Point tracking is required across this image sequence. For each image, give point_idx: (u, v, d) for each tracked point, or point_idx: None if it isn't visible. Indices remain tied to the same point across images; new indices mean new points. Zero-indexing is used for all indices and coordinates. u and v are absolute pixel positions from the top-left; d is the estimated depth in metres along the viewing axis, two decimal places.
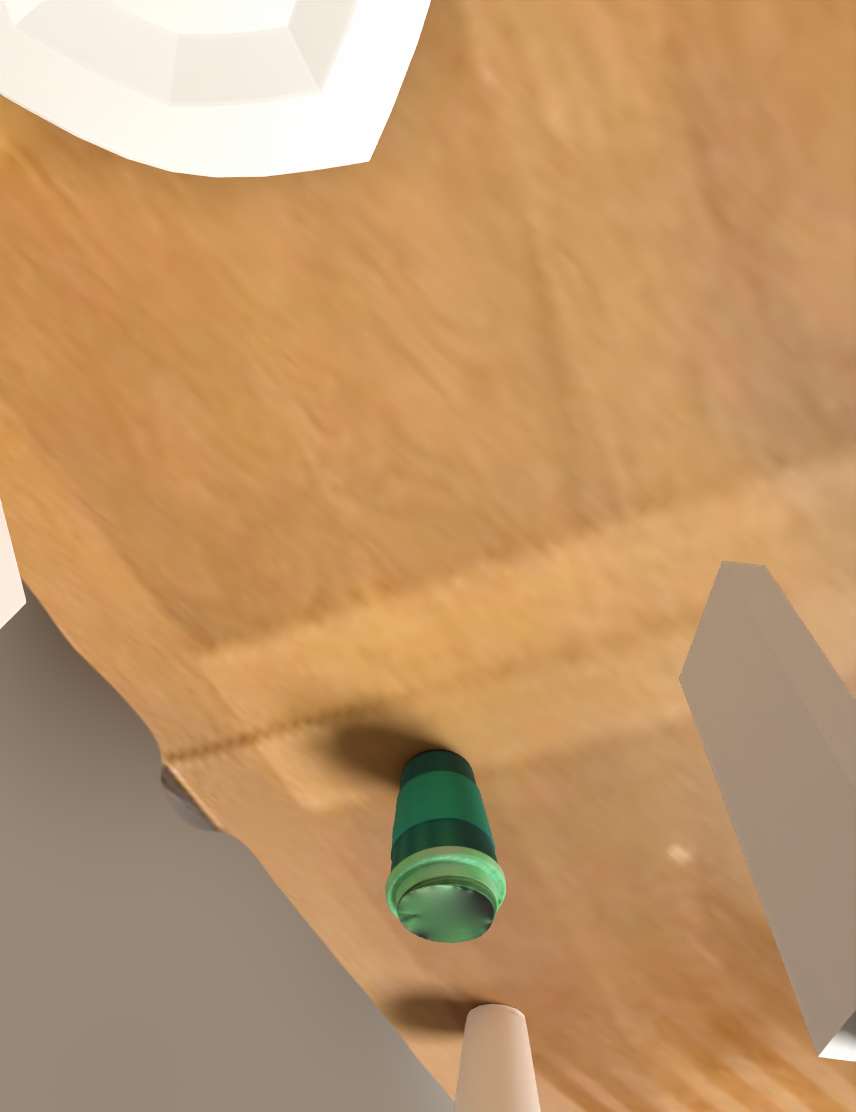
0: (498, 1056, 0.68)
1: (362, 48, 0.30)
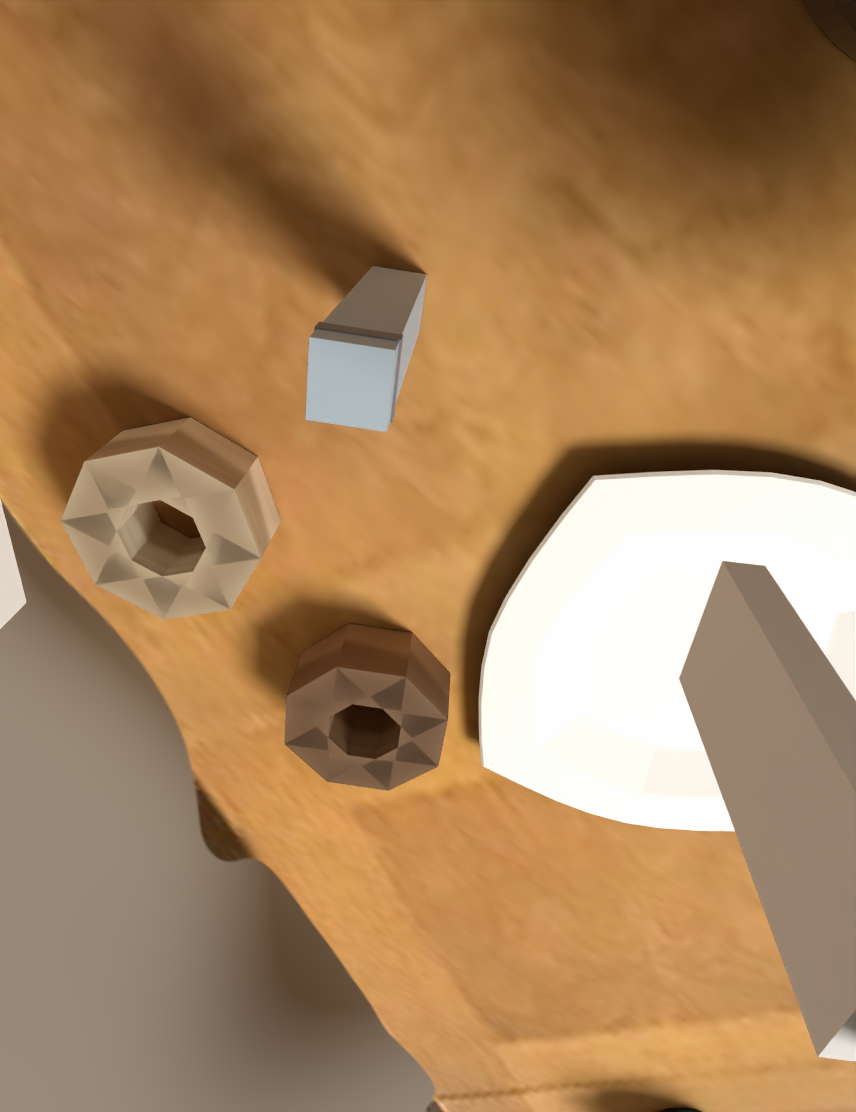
0: None
1: None
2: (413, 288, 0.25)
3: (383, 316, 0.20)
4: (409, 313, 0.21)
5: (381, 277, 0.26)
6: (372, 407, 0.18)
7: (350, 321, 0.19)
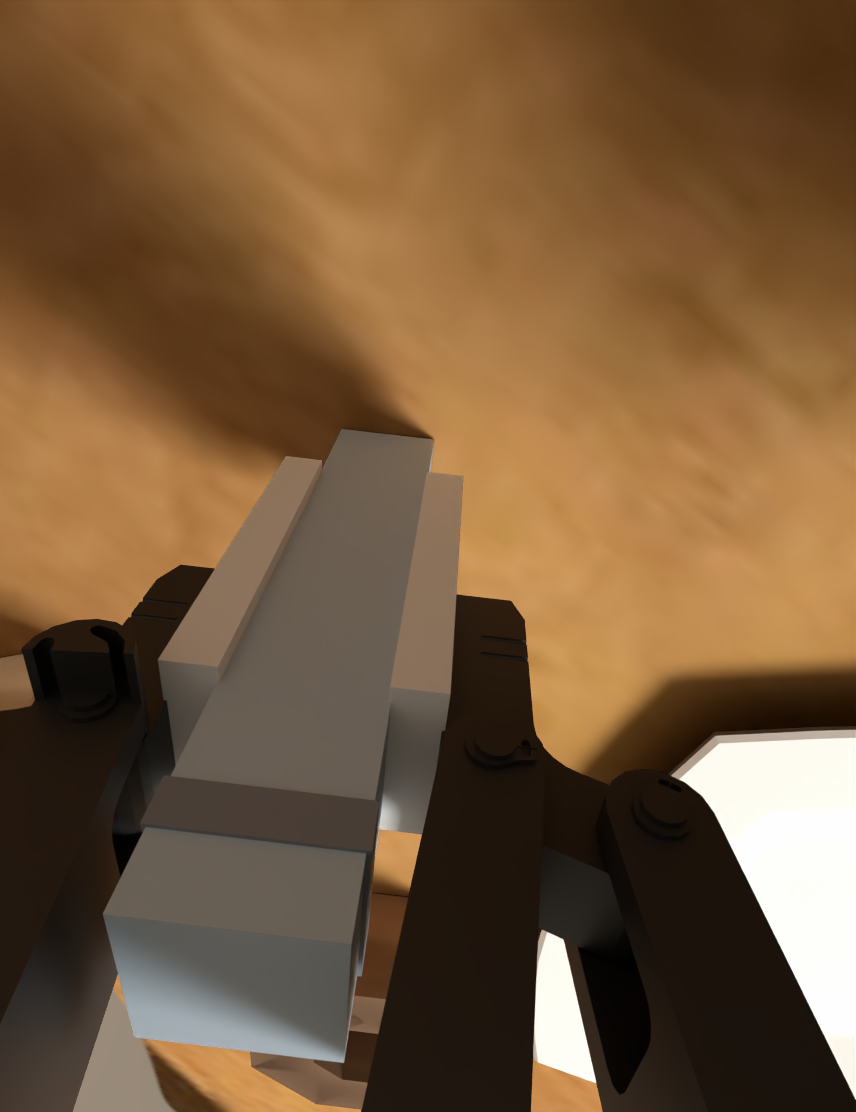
0: None
1: None
2: (410, 503, 0.13)
3: (339, 671, 0.09)
4: None
5: (352, 471, 0.14)
6: (301, 1028, 0.07)
7: (252, 734, 0.08)
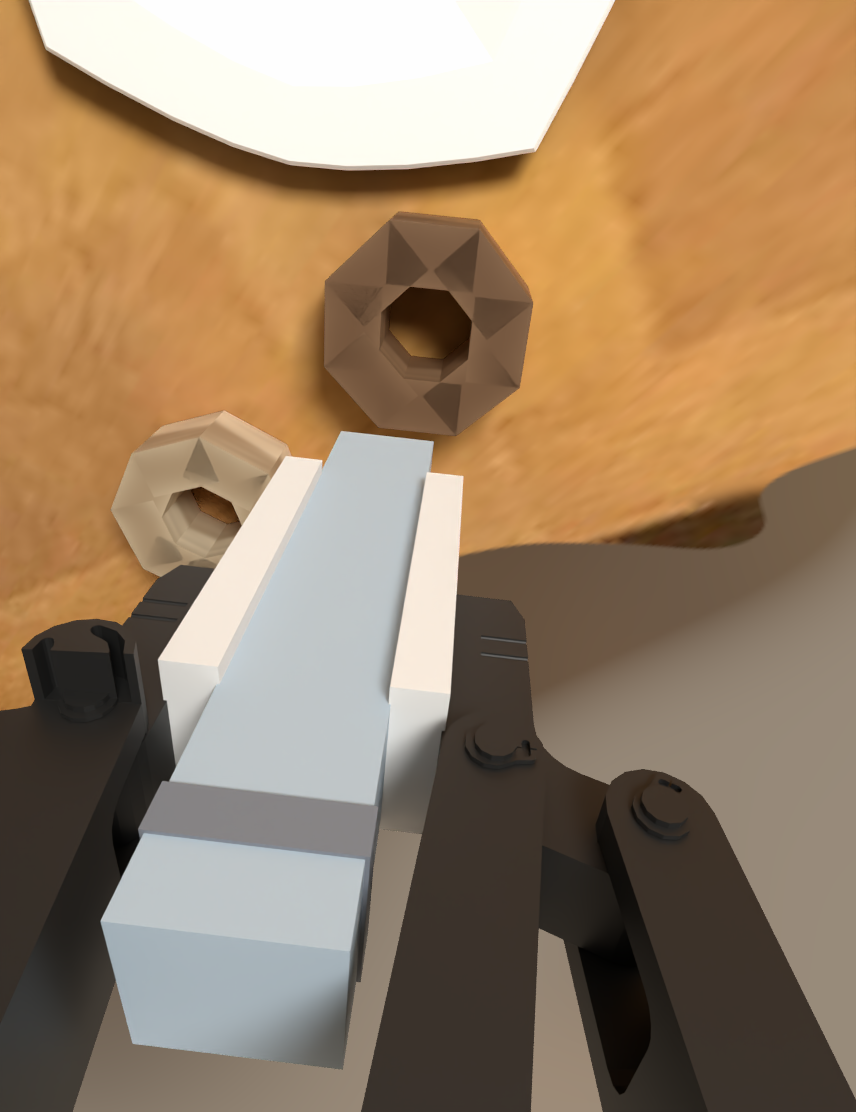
0: None
1: None
2: (409, 506, 0.13)
3: (338, 675, 0.09)
4: None
5: (352, 473, 0.14)
6: (300, 1035, 0.07)
7: (251, 739, 0.08)
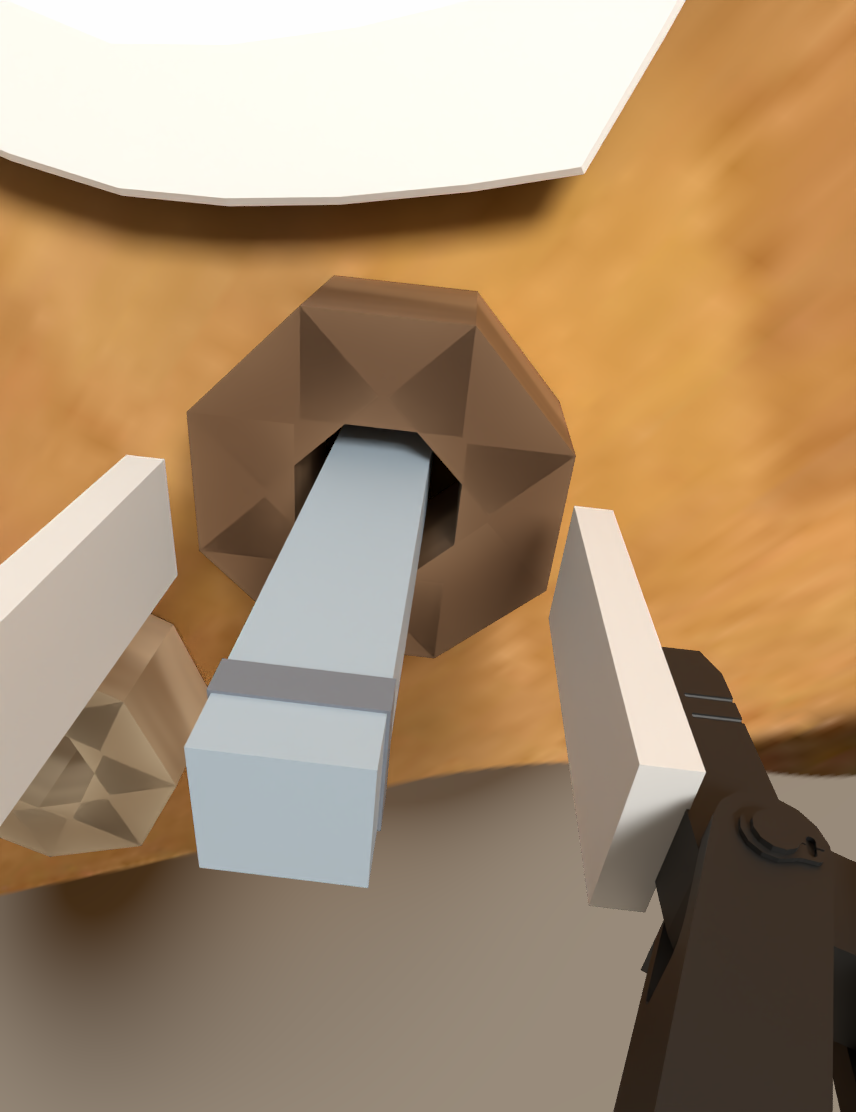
0: None
1: None
2: (417, 464, 0.15)
3: (360, 589, 0.11)
4: (410, 563, 0.12)
5: (365, 437, 0.16)
6: (335, 853, 0.09)
7: (291, 632, 0.10)
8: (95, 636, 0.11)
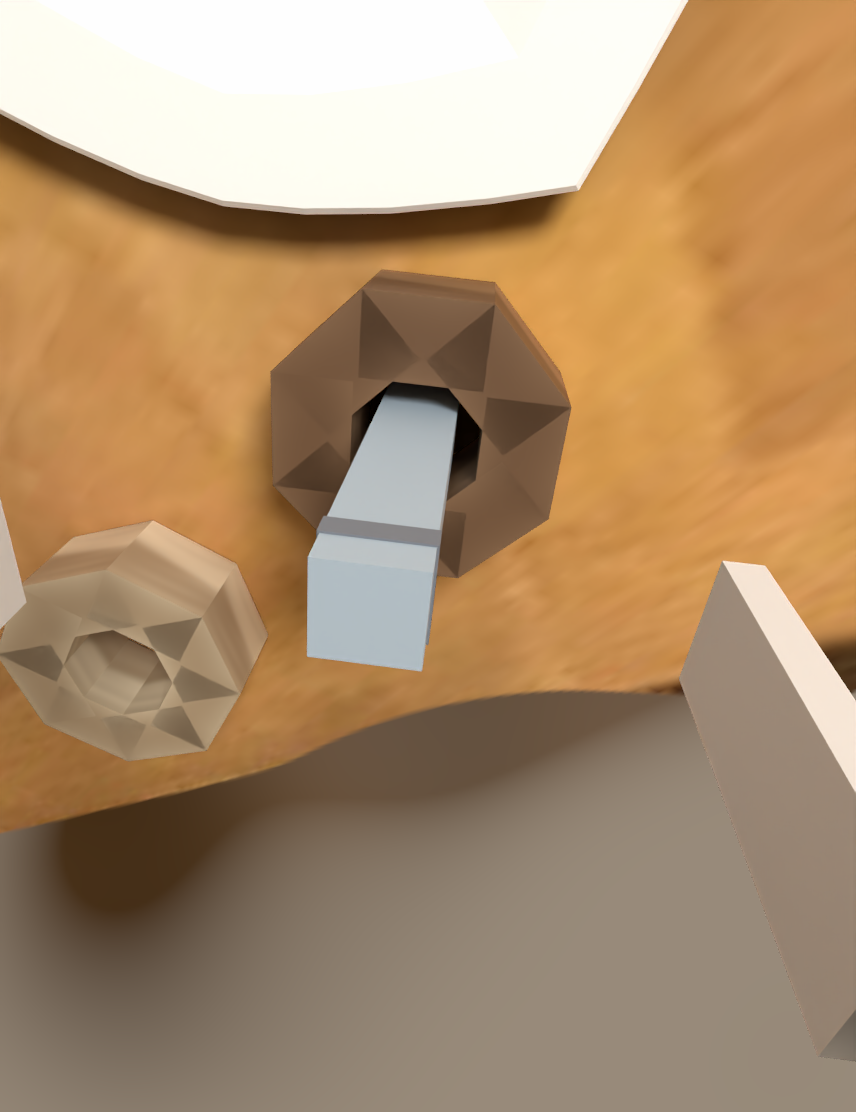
0: None
1: None
2: (447, 414, 0.19)
3: (412, 485, 0.15)
4: (446, 472, 0.16)
5: (406, 396, 0.20)
6: (401, 642, 0.13)
7: (367, 505, 0.14)
8: None
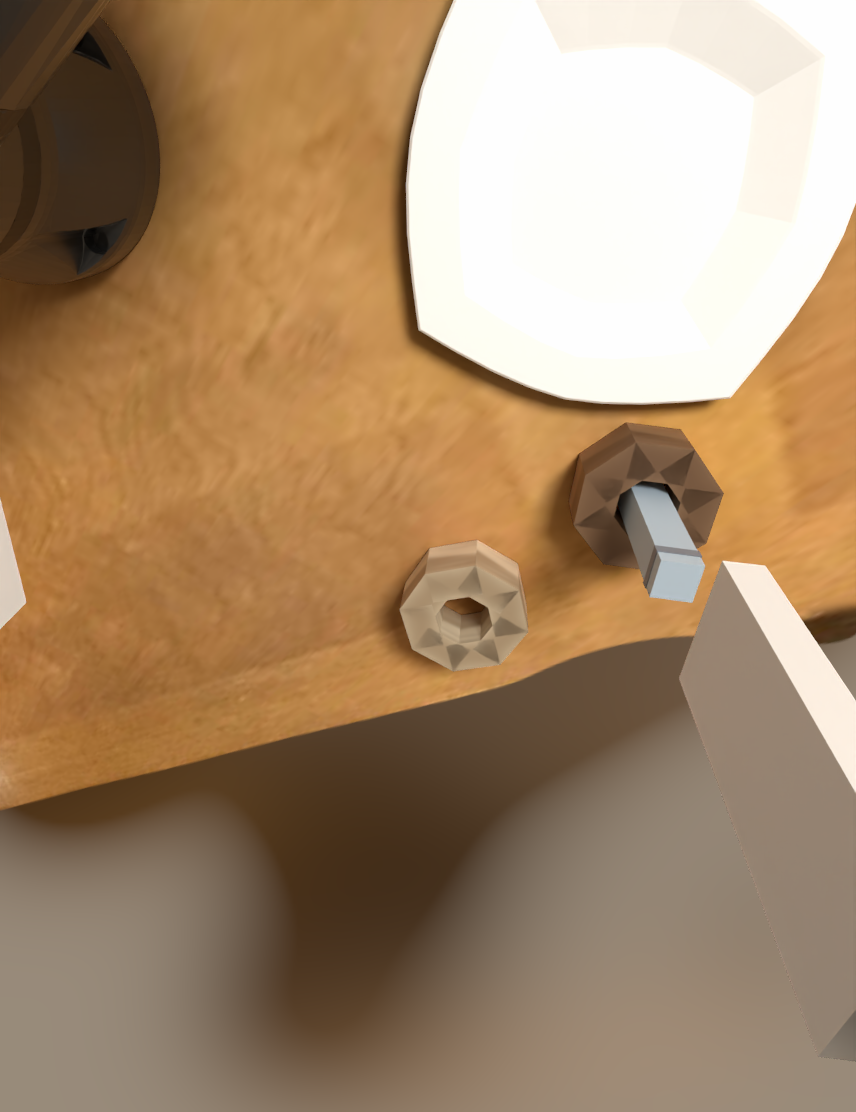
0: None
1: (801, 3, 0.32)
2: (664, 494, 0.42)
3: (675, 531, 0.38)
4: (683, 525, 0.38)
5: (639, 484, 0.43)
6: (687, 591, 0.35)
7: (665, 540, 0.36)
8: None
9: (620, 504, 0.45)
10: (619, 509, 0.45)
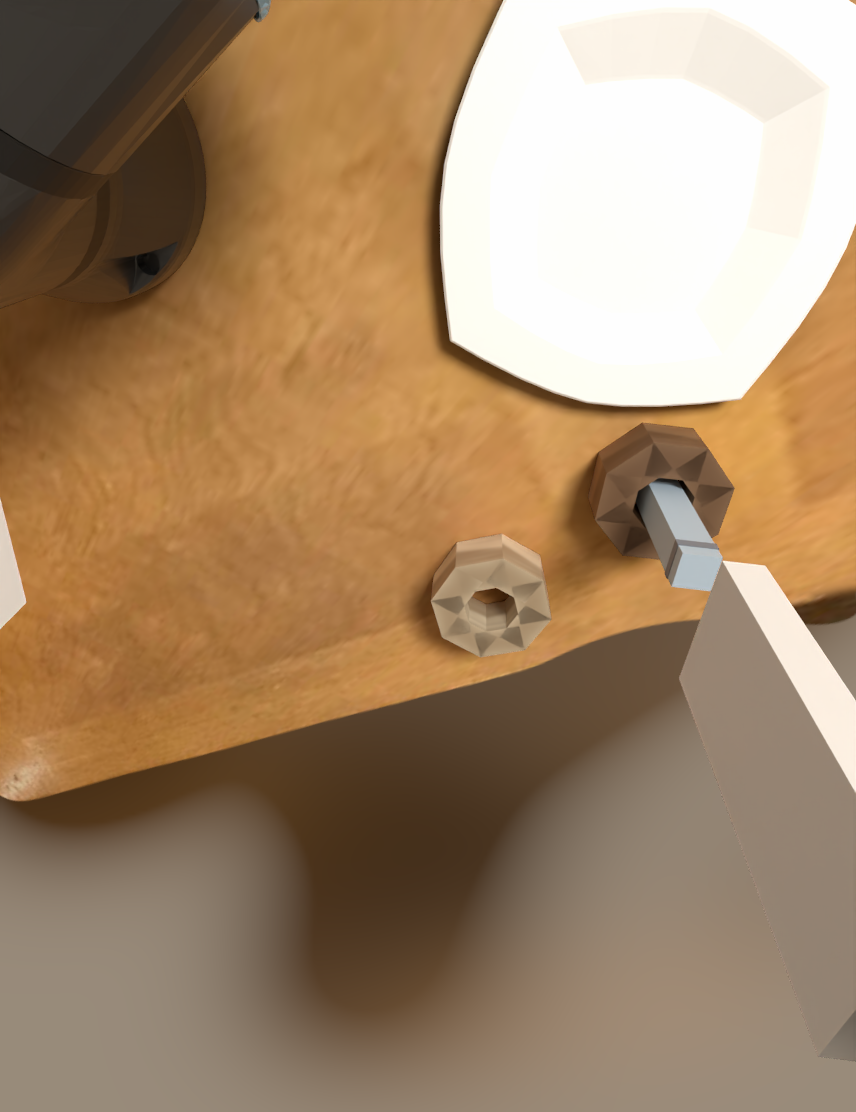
0: None
1: (808, 39, 0.34)
2: (680, 490, 0.45)
3: (692, 526, 0.41)
4: (700, 520, 0.42)
5: (656, 480, 0.46)
6: (706, 581, 0.39)
7: (684, 534, 0.40)
8: None
9: (637, 499, 0.48)
10: (636, 503, 0.48)
